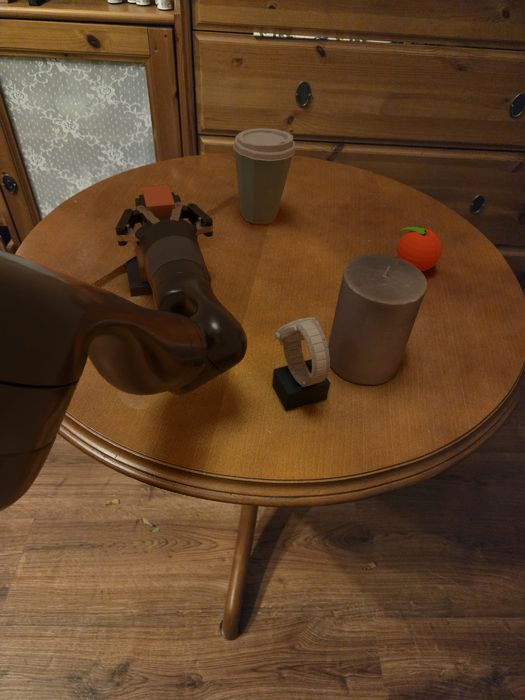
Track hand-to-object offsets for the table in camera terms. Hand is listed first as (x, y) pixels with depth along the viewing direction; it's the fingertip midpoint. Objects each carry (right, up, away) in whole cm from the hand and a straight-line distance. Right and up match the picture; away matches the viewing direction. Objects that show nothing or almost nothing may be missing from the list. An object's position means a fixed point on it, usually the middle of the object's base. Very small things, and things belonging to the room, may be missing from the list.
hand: (156, 199), depth 75 cm
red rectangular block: (0, -8, +4) cm, 8 cm away
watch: (+21, -28, -14) cm, 38 cm away
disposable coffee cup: (+16, +2, +17) cm, 23 cm away
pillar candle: (+29, -24, -9) cm, 39 cm away
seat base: (0, -9, +5) cm, 10 cm away
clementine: (+41, -9, +8) cm, 43 cm away
